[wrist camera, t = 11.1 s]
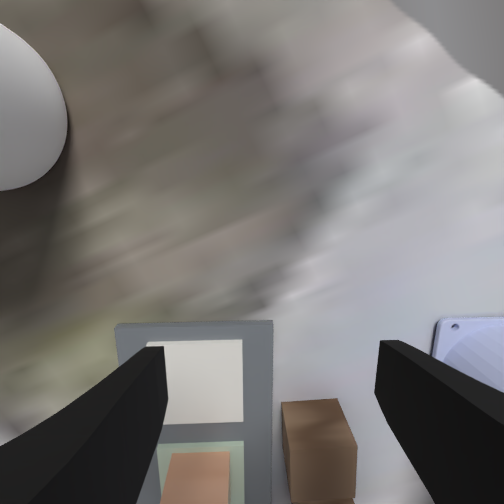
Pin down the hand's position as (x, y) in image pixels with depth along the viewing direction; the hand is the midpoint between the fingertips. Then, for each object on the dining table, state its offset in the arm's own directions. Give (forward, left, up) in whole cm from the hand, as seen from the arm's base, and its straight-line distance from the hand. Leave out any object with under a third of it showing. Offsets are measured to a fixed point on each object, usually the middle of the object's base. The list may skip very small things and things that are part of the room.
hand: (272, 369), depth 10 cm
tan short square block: (+4, +14, -8) cm, 17 cm away
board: (+4, +15, -9) cm, 18 cm away
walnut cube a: (-4, +11, -10) cm, 15 cm away
